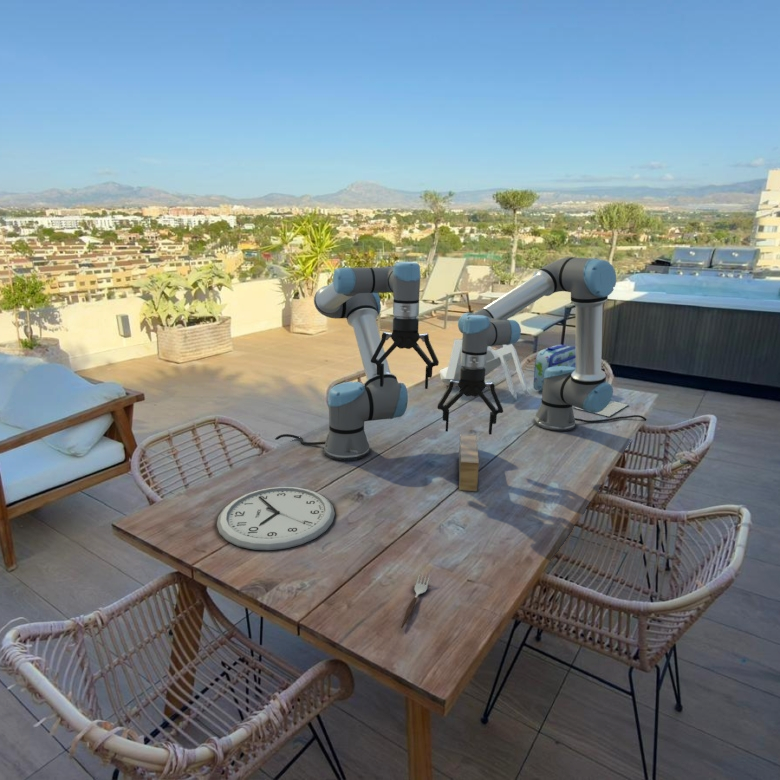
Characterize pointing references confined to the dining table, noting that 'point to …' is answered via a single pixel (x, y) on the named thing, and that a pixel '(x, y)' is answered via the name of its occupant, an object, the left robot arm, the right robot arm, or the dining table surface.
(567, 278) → the right robot arm
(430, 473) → the dining table surface
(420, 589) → the fork
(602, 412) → the invitation card
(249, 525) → the wall clock
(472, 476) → the bar
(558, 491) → the dining table surface
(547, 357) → the lunch box
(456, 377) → the white plastic object
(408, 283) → the left robot arm
